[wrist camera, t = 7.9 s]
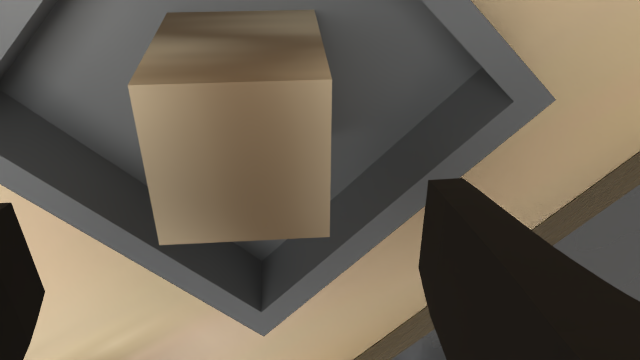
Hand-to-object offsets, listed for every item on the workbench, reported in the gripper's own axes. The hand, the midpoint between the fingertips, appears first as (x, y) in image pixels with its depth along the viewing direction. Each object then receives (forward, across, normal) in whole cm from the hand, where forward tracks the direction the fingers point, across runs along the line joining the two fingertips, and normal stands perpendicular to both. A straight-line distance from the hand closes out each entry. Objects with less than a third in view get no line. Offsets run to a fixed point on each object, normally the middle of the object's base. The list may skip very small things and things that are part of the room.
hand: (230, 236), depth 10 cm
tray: (+8, 0, 0) cm, 8 cm away
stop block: (+7, 0, 0) cm, 7 cm away
